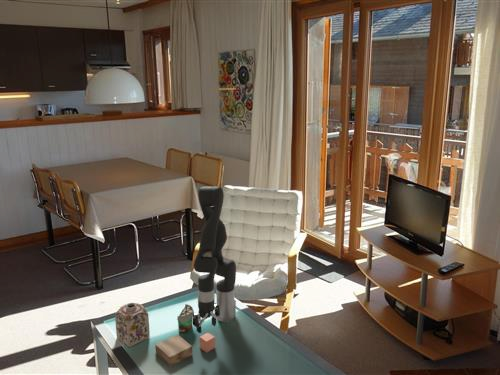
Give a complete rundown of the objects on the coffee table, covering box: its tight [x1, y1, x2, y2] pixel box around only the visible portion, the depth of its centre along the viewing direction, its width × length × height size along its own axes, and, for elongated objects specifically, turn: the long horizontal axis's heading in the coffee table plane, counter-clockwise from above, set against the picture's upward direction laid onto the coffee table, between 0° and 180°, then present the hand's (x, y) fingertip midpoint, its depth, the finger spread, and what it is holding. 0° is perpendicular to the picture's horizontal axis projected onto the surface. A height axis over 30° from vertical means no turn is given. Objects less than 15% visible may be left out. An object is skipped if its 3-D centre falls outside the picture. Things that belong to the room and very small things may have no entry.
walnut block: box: [155, 333, 193, 367], centre depth 205 cm, size 12×12×5 cm
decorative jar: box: [114, 302, 151, 348], centre depth 214 cm, size 12×12×18 cm
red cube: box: [199, 332, 216, 353], centre depth 209 cm, size 5×5×6 cm
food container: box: [176, 303, 195, 334], centre depth 224 cm, size 12×6×10 cm, turn 168°
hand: (206, 328), depth 207 cm, fingers open, 8 cm apart
